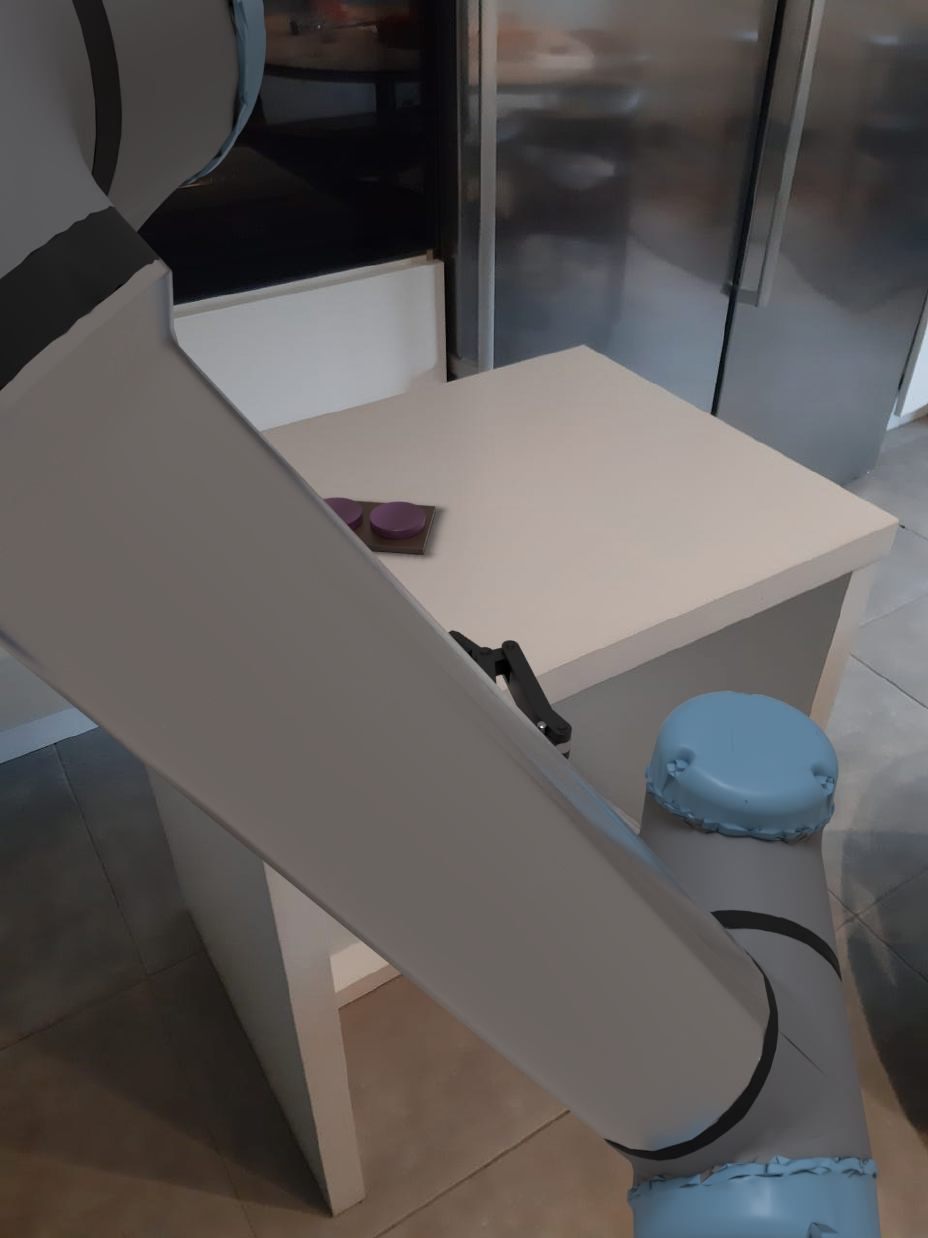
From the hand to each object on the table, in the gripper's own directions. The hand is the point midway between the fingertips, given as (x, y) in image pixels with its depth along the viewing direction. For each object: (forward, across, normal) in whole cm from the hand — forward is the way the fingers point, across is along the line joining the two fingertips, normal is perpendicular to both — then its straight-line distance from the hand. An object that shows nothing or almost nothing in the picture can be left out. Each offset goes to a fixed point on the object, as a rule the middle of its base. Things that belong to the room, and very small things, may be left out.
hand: (331, 664), depth 68 cm
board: (+22, +16, -6) cm, 28 cm away
